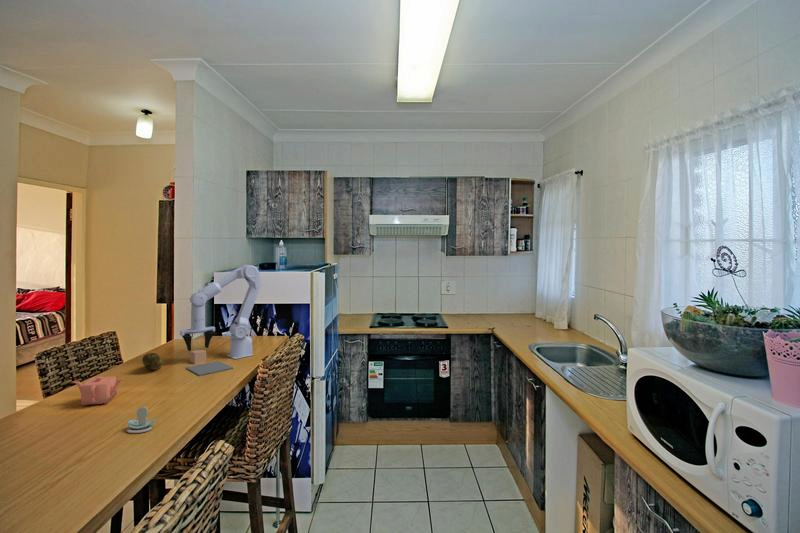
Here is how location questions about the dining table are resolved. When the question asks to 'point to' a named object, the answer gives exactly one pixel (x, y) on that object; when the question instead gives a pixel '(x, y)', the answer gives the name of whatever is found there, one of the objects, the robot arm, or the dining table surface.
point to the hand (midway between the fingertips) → (198, 348)
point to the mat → (209, 368)
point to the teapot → (98, 390)
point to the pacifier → (140, 422)
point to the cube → (198, 356)
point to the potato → (152, 361)
